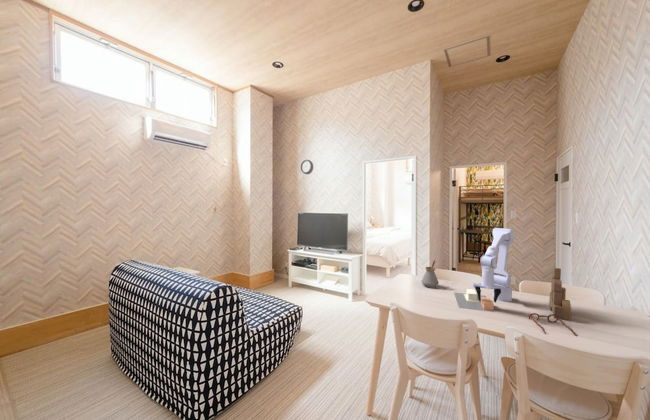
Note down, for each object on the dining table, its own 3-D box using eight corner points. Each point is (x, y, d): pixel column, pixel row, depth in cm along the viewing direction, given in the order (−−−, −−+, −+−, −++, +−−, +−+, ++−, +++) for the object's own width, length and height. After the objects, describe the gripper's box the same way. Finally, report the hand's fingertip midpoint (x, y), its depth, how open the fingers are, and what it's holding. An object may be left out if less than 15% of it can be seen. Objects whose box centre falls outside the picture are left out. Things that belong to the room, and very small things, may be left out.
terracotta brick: (489, 304, 152) (490, 297, 152) (493, 310, 145) (493, 303, 144) (480, 303, 154) (481, 296, 153) (484, 309, 146) (484, 302, 146)
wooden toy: (571, 321, 134) (573, 273, 132) (554, 318, 137) (556, 271, 136) (564, 309, 147) (566, 265, 145) (548, 307, 150) (550, 264, 149)
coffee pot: (436, 289, 179) (437, 268, 178) (419, 286, 185) (419, 265, 184) (442, 281, 196) (442, 261, 195) (426, 278, 203) (426, 259, 202)
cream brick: (474, 295, 165) (474, 289, 165) (476, 300, 157) (476, 294, 157) (466, 295, 166) (466, 288, 166) (468, 299, 159) (468, 293, 159)
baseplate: (485, 297, 165) (485, 295, 165) (495, 314, 142) (495, 312, 142) (453, 293, 171) (453, 292, 171) (458, 309, 149) (459, 307, 149)
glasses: (556, 323, 133) (557, 313, 133) (576, 337, 120) (577, 326, 120) (527, 321, 135) (528, 312, 135) (544, 335, 122) (545, 324, 122)
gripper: (474, 278, 147) (473, 301, 147) (505, 280, 142) (504, 305, 143) (472, 274, 153) (471, 297, 154) (501, 276, 148) (500, 300, 149)
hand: (487, 300), depth 149 cm, fingers open, 7 cm apart
